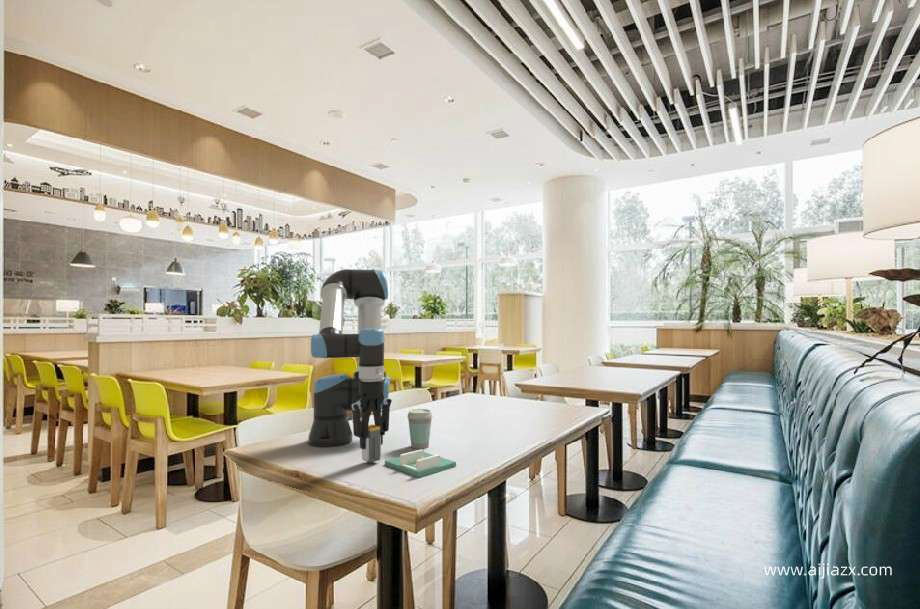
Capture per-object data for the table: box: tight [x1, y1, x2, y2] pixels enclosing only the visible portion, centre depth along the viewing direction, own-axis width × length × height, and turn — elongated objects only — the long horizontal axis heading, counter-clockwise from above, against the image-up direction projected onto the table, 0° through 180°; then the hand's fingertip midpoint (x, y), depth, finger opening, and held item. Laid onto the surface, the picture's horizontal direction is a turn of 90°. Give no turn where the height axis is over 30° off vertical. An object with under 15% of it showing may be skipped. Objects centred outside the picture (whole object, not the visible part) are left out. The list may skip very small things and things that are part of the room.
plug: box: [362, 423, 381, 463], centre depth 140 cm, size 5×4×10 cm
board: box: [384, 449, 457, 478], centre depth 137 cm, size 16×14×4 cm
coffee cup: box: [406, 408, 433, 450], centre depth 158 cm, size 8×8×12 cm
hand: (371, 457), depth 140 cm, fingers closed on plug, 3 cm apart
